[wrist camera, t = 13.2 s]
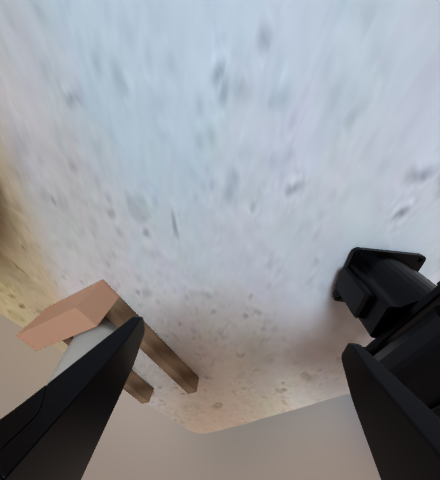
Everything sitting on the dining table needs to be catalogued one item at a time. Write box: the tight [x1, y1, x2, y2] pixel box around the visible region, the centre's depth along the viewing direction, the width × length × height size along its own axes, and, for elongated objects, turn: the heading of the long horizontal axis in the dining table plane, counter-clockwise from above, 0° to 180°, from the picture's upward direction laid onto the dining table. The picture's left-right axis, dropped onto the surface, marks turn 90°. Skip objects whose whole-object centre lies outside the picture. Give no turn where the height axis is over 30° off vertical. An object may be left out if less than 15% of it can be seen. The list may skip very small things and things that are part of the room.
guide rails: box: [62, 297, 199, 403], centre depth 29 cm, size 19×11×2 cm, turn 30°
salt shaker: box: [46, 316, 118, 385], centre depth 22 cm, size 6×6×13 cm
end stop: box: [16, 280, 119, 351], centre depth 24 cm, size 3×11×4 cm, turn 120°
